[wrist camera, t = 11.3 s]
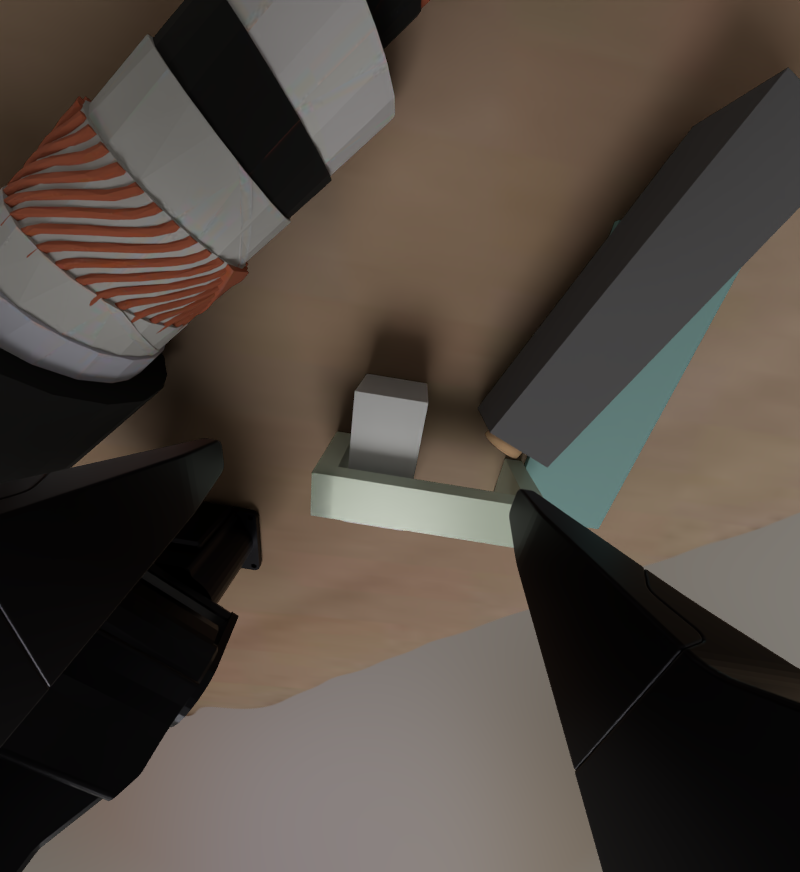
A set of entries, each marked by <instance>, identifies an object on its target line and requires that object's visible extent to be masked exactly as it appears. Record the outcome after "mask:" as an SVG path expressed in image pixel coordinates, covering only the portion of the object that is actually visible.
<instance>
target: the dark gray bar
mask: <svg viewBox="0 0 800 872" xmlns="http://www.w3.org/2000/svg"><path fill="white" fill-rule="evenodd" d="M799 207H800V79H799V78H798V77H797V76H796V75H795V74H794V73H793V72H792V71H791V70H790V69H789V68H786V69H785V70H783V71H782V72H780V73H778V74H777V75H775V76H773V77H772V78H770V79H769V80H767V81H765V82H764V83H762V84H761V85H759V86H757V87H756V88H754V89H752V90H751V91H749V92H748V93H746V94H744V95H743V96H741V97H740V98H738V99H736V100H735V101H733V102H732V103H730V104H728V105H727V106H725V107H723V108H722V109H720V110H719V111H717V112H715V113H714V114H712V115H711V116H709V117H707V118H706V119H704V120H702V121H701V122H699V123H698V124H696V125H694V126H693V127H692V128H691V130H690V131H689V132H688V134H687V135H686V136H685V138H684V139H683V140H682V141H681V143H680V144H679V145H678V147H677V148H676V149H675V151H674V152H673V153H672V155H671V156H670V157H669V158H668V160H667V161H666V162H665V164H664V165H663V166H662V168H661V169H660V170H659V172H658V173H657V174H656V175H655V177H654V178H653V179H652V181H651V182H650V183H649V185H648V186H647V187H646V188H645V190H644V191H643V192H642V194H641V195H640V196H639V198H638V199H637V200H636V202H635V203H634V204H633V205H632V207H631V208H630V209H629V211H628V212H627V213H626V215H625V216H624V217H623V219H622V220H621V221H620V222H619V224H618V225H617V226H616V228H615V229H614V230H613V232H612V233H611V234H610V236H609V237H608V238H607V239H606V241H605V242H604V243H603V245H602V246H601V247H600V249H599V250H598V251H597V253H596V254H595V255H594V256H593V258H592V259H591V260H590V262H589V263H588V264H587V266H586V267H585V268H584V269H583V271H582V272H581V273H580V275H579V276H578V277H577V279H576V280H575V281H574V283H573V284H572V285H571V286H570V288H569V289H568V290H567V292H566V293H565V294H564V296H563V297H562V298H561V300H560V301H559V302H558V303H557V305H556V306H555V307H554V309H553V310H552V311H551V313H550V314H549V315H548V317H547V318H546V319H545V320H544V322H543V323H542V324H541V326H540V327H539V328H538V330H537V331H536V332H535V333H534V335H533V336H532V337H531V339H530V340H529V341H528V343H527V344H526V345H525V347H524V348H523V349H522V350H521V352H520V353H519V354H518V356H517V357H516V358H515V360H514V361H513V362H512V364H511V365H510V366H509V367H508V369H507V370H506V371H505V373H504V374H503V375H502V377H501V378H500V379H499V381H498V382H497V383H496V384H495V386H494V387H493V388H492V390H491V391H490V392H489V394H488V395H487V396H486V397H485V399H484V400H483V401H482V403H481V404H480V405H479V407H478V410H479V412H480V414H481V416H482V418H483V420H484V422H485V424H486V426H487V428H488V431H487V432H486V433H485V435H486V437H487V439H488V440H489V441H490V442H491V443H492V444H493V445H494V446H495V447H496V448H498V449H499V450H500V451H502V452H503V453H505V454H506V455H508V456H510V457H512V458H518V457H519V456H520V454H521V453H524V454H526V455H527V456H529V457H531V458H532V459H534V460H536V461H537V462H539V463H540V464H542V465H544V466H545V467H547V468H548V467H549V466H550V464H551V463H552V462H553V461H554V460H555V459H556V458H557V457H558V456H559V455H560V454H561V453H562V452H563V451H564V450H565V449H566V448H567V447H568V446H569V445H570V444H571V443H572V442H573V441H574V440H575V439H576V438H577V437H578V436H579V435H580V434H581V432H582V431H583V430H584V429H585V428H586V427H587V426H588V425H589V424H590V423H591V422H592V421H593V420H594V419H595V418H596V417H597V416H598V415H599V414H600V413H601V412H602V411H603V410H604V409H605V408H606V407H607V406H608V405H609V404H610V403H611V401H612V400H613V399H614V398H615V397H616V396H617V395H618V394H619V393H620V392H621V391H622V390H623V389H624V388H625V387H626V386H627V385H628V384H629V383H630V382H631V381H632V380H633V379H634V378H635V377H636V376H637V375H638V374H639V373H640V372H641V370H642V369H643V368H644V367H645V366H646V365H647V364H648V363H649V362H650V361H651V360H652V359H653V358H654V357H655V356H656V355H657V354H658V353H659V352H660V351H661V350H662V349H663V348H664V347H665V346H666V345H667V344H668V343H669V342H670V341H671V339H672V338H673V337H674V336H675V335H676V334H677V333H678V332H679V331H680V330H681V329H682V328H683V327H684V326H685V325H686V324H687V323H688V322H689V321H690V320H691V319H692V318H693V317H694V316H695V315H696V314H697V313H698V312H699V311H700V310H701V308H702V307H703V306H704V305H705V304H706V303H707V302H708V301H709V300H710V299H711V298H712V297H713V296H714V295H715V294H716V293H717V292H718V291H719V290H720V289H721V288H722V287H723V286H724V285H725V284H726V283H727V282H728V281H729V280H730V279H731V277H732V276H733V275H734V274H735V273H736V272H737V271H738V270H739V269H740V268H741V267H742V266H743V265H744V264H745V263H746V262H747V261H748V260H749V259H750V258H751V257H752V256H753V255H754V254H755V253H756V252H757V251H758V250H759V249H760V248H761V247H762V245H763V244H764V243H765V242H766V241H767V240H768V239H769V238H770V237H771V236H772V235H773V234H774V233H775V232H776V231H777V230H778V229H779V228H780V227H781V226H782V225H783V224H784V223H785V222H786V221H787V220H788V219H789V218H790V217H791V216H792V214H793V213H794V212H795V211H796V210H797V209H798V208H799Z"/></svg>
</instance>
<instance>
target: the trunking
mask: <svg viewBox="0 0 800 872" xmlns="http://www.w3.org/2000/svg"><path fill="white" fill-rule="evenodd" d="M427 407H428V389H427V383H421V382H415V381H409V380H403V379H397V378H391V377H384V376H378V375H372V374H366V376H365V377H364V379H363V380H362V381H361V383H360V384H359V386H358V387H357V389H356V390H355V395H354V406H353V418H352V429H351V441H350V452H349V464H348V468H349V469H355V470H361V471H368V472H374V473H380V474H386V475H393V476H399V477H405V478H411V479H413V478H414V473H415V468H416V463H417V458H418V453H419V448H420V443H421V438H422V433H423V428H424V422H425V417H426V412H427ZM345 522H350V521H345ZM351 523H356V522H351ZM357 524H363V523H357ZM363 525H369V524H363ZM370 526H375V525H370ZM376 527H381V526H376ZM382 528H388V527H382ZM388 529H394V528H388ZM395 530H400V529H395ZM401 531H403V530H401Z"/></svg>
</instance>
